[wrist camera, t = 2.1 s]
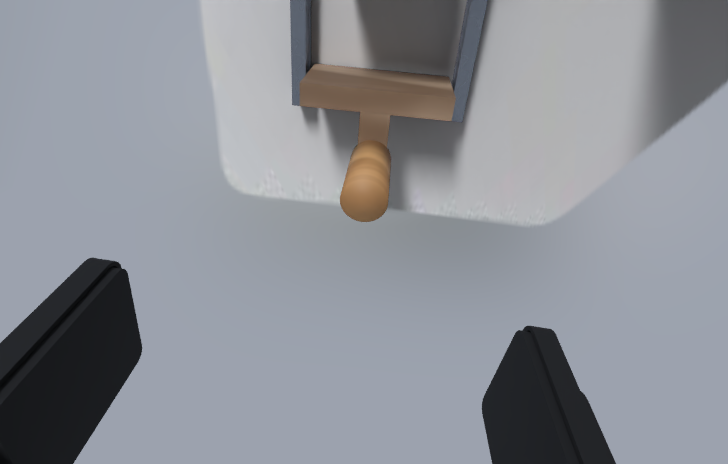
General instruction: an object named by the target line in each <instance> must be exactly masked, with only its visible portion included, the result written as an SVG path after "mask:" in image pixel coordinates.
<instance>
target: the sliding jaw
mask: <svg viewBox="0 0 728 464" xmlns="http://www.w3.org/2000/svg"><path fill="white" fill-rule="evenodd" d="M455 100H456V97H455V94H454V91H453V88H452V85H451V82H450V79H449V77H446V76H436V75H426V74H415V73H405V72H395V71H385V70H375V69H364V68H354V67H344V66H334V65H324V64H314V65H313V67H312V68H311V69H310V70H309V72H308V73H307V74H306V75H305V76H304V78H303V79H302V80H301V81H300V106H305V107H315V108H325V109H335V110H345V111H355V112H360V120H359V134H358V145H357V146H356V147H355V148H354V150H353V152H352V155H351V158H350V162H349V166H348V170H347V173H346V177H345V181H344V185H343V188H342V192H341V196H340V204H341V207H342V209H343V211H344V212H345V213H346V215H348V216H349V217H351V218H352V219H354V220H356V221H361V222H370V221H374V220H376V219H378V218H379V217H381V216H382V215H383V214H384V213H385V211H386V209H387V206H388V196H389V182H390V168H391V155H390V152H389V150H388V149H387V141H388V132H389V123H390V115H394V116H404V117H414V118H424V119H434V120H444V121H452V116H453V111H454V105H455Z"/></svg>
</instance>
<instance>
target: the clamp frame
mask: <svg viewBox="0 0 728 464" xmlns="http://www.w3.org/2000/svg"><path fill="white" fill-rule="evenodd" d="M487 1H488V0H467V5H466V10H465V15H464V21H463V26H462V31H461V37H460V42H459V48H458V53H457V58H456V64H455V69H454V74H453V80H452V88H453V91H454V94H455V97H456V100H455V105H454V111H453V116H452V121H455V122H462V120H463V115H464V111H465V106H466V101H467V96H468V92H469V87H470V82H471V77H472V73H473V68H474V63H475V58H476V54H477V49H478V44H479V39H480V35H481V30H482V25H483V20H484V15H485V11H486V6H487ZM290 11H291V60H292V105H297V106H300V81H301V80H302V79H303V78H304V76H305V75H306V74H307V73H308V72H309V70H310V69H311V0H290Z"/></svg>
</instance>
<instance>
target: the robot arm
mask: <svg viewBox="0 0 728 464" xmlns="http://www.w3.org/2000/svg"><path fill="white" fill-rule="evenodd" d="M141 352H142V344H141V339H140V334H139V329H138V323H137V319H136V314H135V309H134V303H133V298H132V294H131V288H130V283H129V278H128V273H127V271H126V270H125V269H122V268H121V265H120V264H119V263H118V262H115V261H110V260H102V259H97V258H89V259H87V260H86V261H85V262H84V263H83V264H82V265H80V266H79V268H78V269H76V271H74V272H73V273H72V274H71V275H70V277H68V278H67V279H66V280H65V281H64V282H63V283H62V284H61V285H60V286H59V287H58V288H57V289H56V290H55V291H54V292H53V293H52V294H51V295H50V296H49V297H48V298H47V299H46V300H45V301H43V302H42V303H41V304H40V305H39V306H38V307H37V308H36V309H35V310H34V311H33V312H32V313H31V314H30V315H29V316H28V317H27V318H26V319H25V320H24V321H23V322H22V323H21V324H20V325H19V326H18V327H17V328H16V329H14V330H13V332H11V333H10V334H9V335H8V337H6V338H5V339H4V340H3V341H2V342H1V343H0V464H73V463H74V461H75V460H76V458H77V457H78V455H79V454H80V452H81V450H82V449H83V447H84V446H85V444H86V443H87V441H88V439H89V438H90V436H91V435H92V433H93V432H94V430H95V428H96V427H97V425H98V424H99V422H100V421H101V419H102V417H103V416H104V414H105V413H106V411H107V410H108V408H109V407H110V405H111V403H112V402H113V400H114V399H115V397H116V396H117V394H118V392H119V391H120V389H121V388H122V386H123V385H124V383H125V381H126V380H127V378H128V377H129V375H130V374H131V372H132V370H133V369H134V367H135V366H136V364H137V363H138V361H139V359H140V356H141ZM482 414H483V419H484V424H485V429H486V434H487V439H488V444H489V449H490V454H491V459H492V464H616V463H615V461H614V458H613V456H612V454H611V452H610V449H609V447H608V445H607V443H606V440H605V438H604V436H603V433H602V431H601V429H600V427H599V425H598V422H597V420H596V418H595V415H594V413H593V411H592V409H591V406H590V404H589V402H588V400H587V398H586V397H585V395H584V394H583V393H582V392H581V391H580V389H579V387H578V385H577V382H576V380H575V378H574V376H573V373H572V371H571V368H570V366H569V364H568V362H567V359H566V357H565V355H564V352H563V350H562V348H561V346H560V343H559V341H558V339H557V336H556V334H555V332H554V331H553V330H551V329H547V328H540V327H534V326H526V327H525V328H524V329H523V331H520V330H519V331H517V332H516V333H515V335H514V337H513V339H512V341H511V343H510V345H509V347H508V349H507V351H506V353H505V355H504V357H503V359H502V361H501V363H500V365H499V367H498V369H497V371H496V374H495V375H494V378H493V379H492V381H491V384H490V385H489V388H488V389H487V391H486V393H485V396H484V398H483V402H482Z"/></svg>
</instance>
